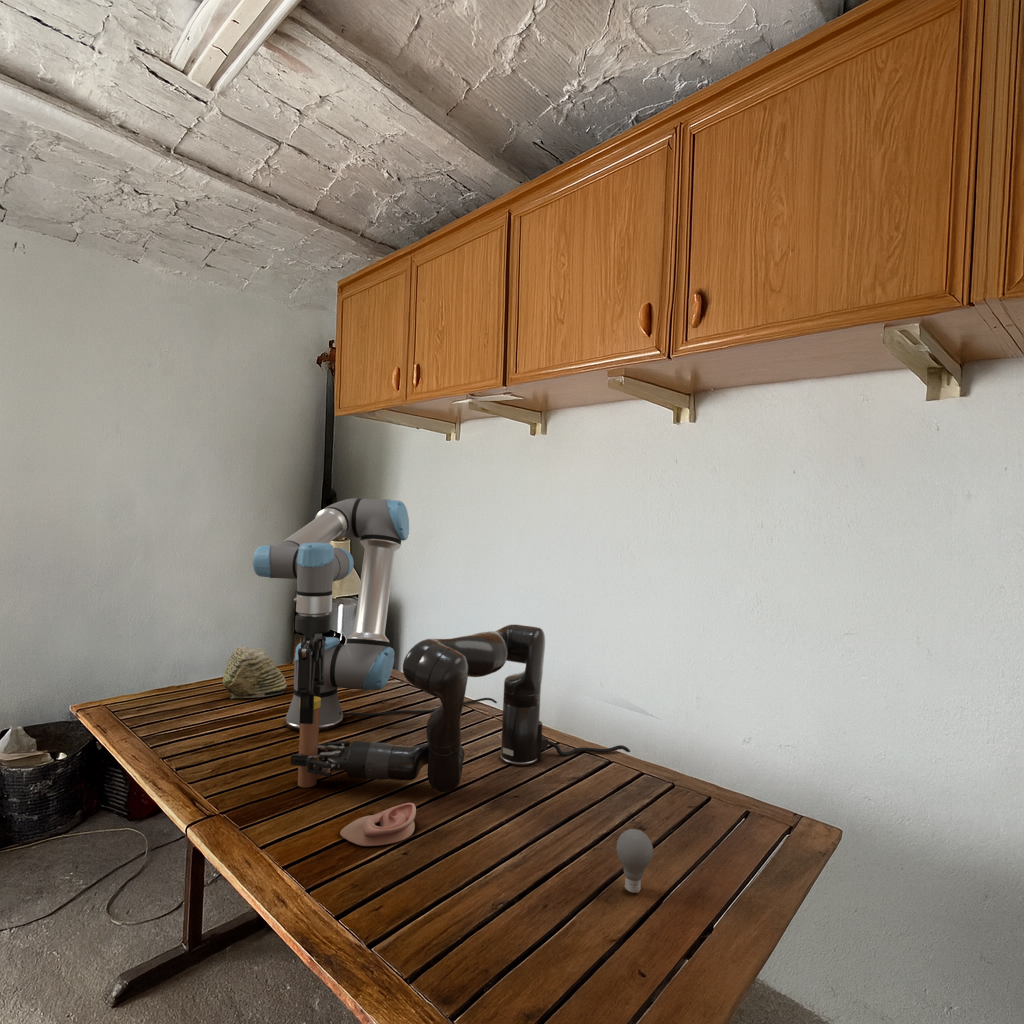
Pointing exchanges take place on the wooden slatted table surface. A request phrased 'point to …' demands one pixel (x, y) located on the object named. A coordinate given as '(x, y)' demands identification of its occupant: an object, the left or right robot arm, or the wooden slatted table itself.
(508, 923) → the wooden slatted table surface
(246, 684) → the fossil
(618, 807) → the wooden slatted table surface
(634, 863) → the light bulb
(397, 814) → the anatomical model
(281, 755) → the wooden slatted table surface
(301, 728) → the brown long cylinder
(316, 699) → the lid
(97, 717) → the wooden slatted table surface
